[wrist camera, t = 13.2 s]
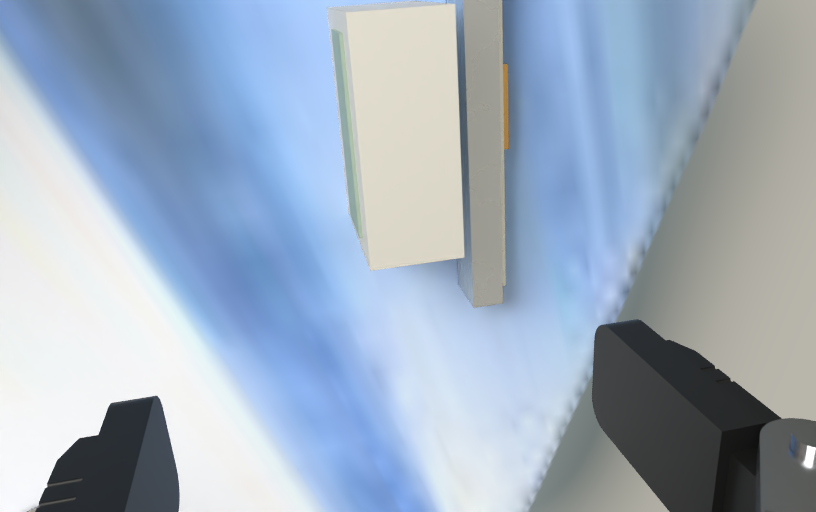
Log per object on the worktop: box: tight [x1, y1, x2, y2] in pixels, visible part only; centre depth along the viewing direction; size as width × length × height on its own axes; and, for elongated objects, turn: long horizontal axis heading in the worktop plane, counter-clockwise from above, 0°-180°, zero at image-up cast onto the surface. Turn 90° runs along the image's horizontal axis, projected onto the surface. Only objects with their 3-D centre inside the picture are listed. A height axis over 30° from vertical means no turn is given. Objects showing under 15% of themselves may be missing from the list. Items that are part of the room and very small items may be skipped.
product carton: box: [327, 1, 465, 271], centre depth 30 cm, size 4×10×8 cm, turn 4°
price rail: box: [446, 0, 509, 308], centre depth 33 cm, size 20×2×3 cm, turn 4°
